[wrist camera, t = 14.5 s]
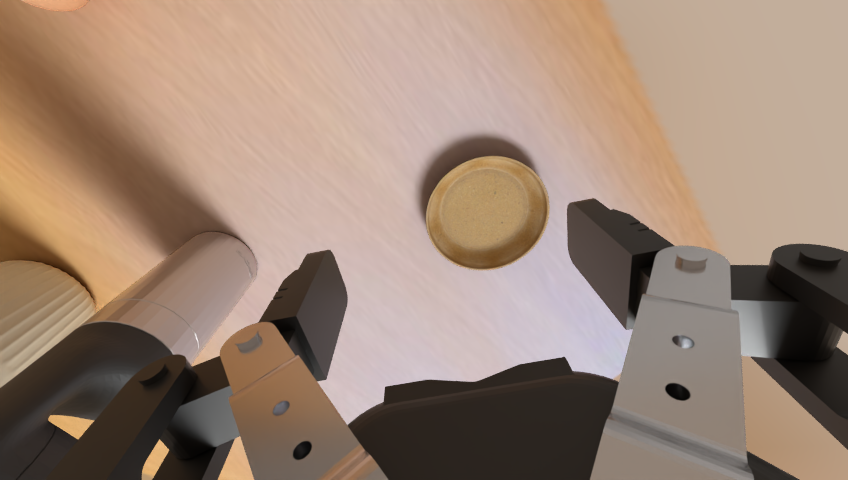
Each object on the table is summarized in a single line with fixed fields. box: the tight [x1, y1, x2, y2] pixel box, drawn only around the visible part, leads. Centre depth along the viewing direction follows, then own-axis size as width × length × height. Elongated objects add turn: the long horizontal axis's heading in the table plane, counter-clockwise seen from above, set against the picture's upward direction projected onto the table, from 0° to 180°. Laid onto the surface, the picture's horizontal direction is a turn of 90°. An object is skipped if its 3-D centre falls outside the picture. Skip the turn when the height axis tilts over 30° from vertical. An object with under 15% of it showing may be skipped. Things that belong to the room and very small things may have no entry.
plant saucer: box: [426, 156, 549, 270], centre depth 43 cm, size 15×15×3 cm
